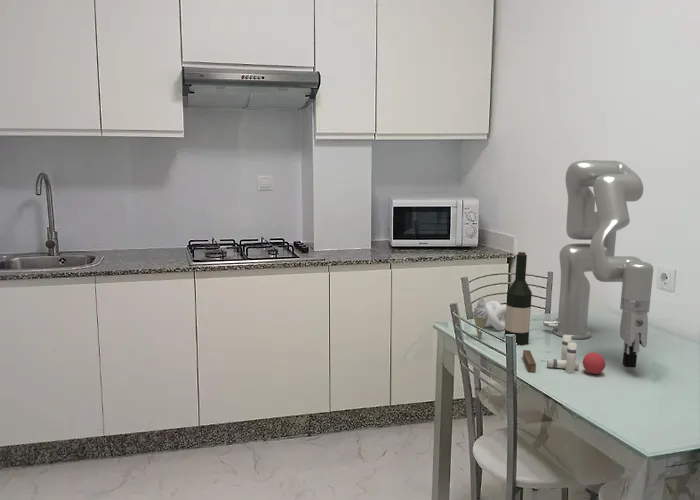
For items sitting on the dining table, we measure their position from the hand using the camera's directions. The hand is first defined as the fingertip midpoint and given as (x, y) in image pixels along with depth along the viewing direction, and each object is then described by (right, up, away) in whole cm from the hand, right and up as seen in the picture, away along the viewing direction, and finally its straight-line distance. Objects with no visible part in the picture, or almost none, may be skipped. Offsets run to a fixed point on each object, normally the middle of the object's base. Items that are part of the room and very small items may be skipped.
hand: (629, 366), depth 174 cm
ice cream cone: (-37, +4, +28) cm, 47 cm away
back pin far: (-16, 0, +6) cm, 17 cm away
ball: (-11, +1, -2) cm, 11 cm away
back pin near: (-17, -1, -1) cm, 17 cm away
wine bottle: (-25, +3, +26) cm, 36 cm away
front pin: (-14, 0, +1) cm, 14 cm away
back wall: (-28, 0, +4) cm, 28 cm away
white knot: (-28, +6, +41) cm, 50 cm away
